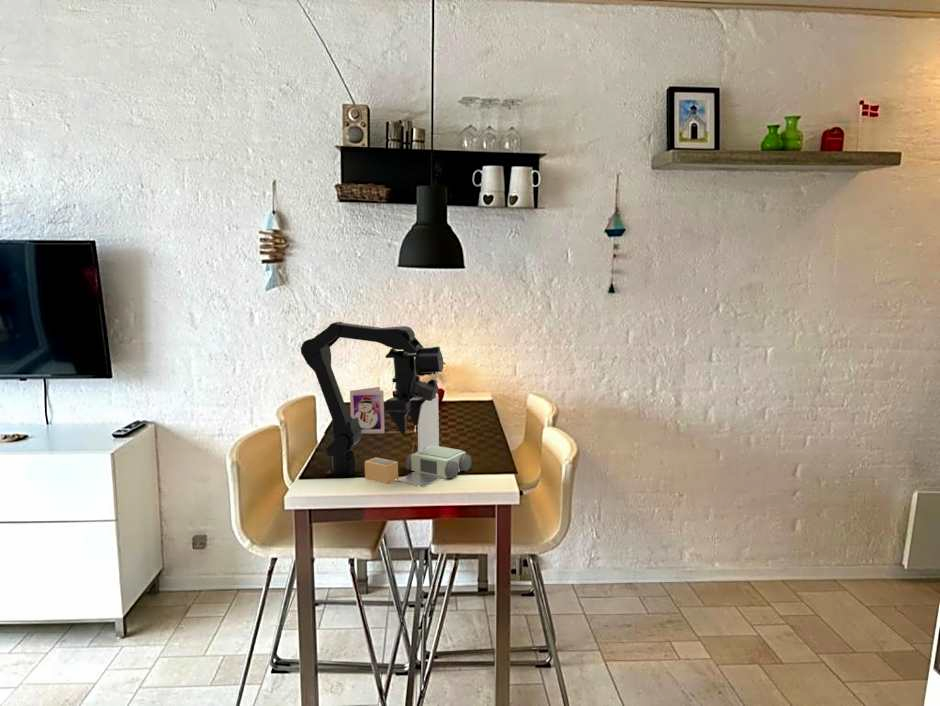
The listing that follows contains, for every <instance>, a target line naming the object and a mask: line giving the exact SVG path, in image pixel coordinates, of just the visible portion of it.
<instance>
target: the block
mask: <svg viewBox="0 0 940 706" xmlns="http://www.w3.org/2000/svg"><path fill="white" fill-rule="evenodd" d="M364 479H365V480H370V481H373V480H374V482H378V481H380V482H379V483H382V482H385V483H384V484H387V483H388V484H390V483H389V482H391V481H393V482H395V481H396V480H395V479H397V480H398V479H399V462H398V461H395V460H390V459H386V458H380V457H377V456H375V457H373V458H370V459H367V460H365V461H364ZM394 480H395V481H394ZM391 483H392V482H391Z"/></svg>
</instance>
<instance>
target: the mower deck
mask: <svg viewBox="0 0 940 706" xmlns="http://www.w3.org/2000/svg"><path fill="white" fill-rule="evenodd" d="M471 467H472V457H471V455H469V454H467V452H466V451H464V450H462V449H457V448H451V447H445V446H441V445H439V446H435V445H434V446H430V447H428V448H423V449H422V450H421V451H418V450H417V451H416V452H414V453H409V454H408V455H407V456H406V459H405V468H406V469H407V470H408V471H417V472H422V473H427V474H432V475H437V476H442V478H441V479H445V478H446V479H455V478H456V477H457V476H458V472H459V473H460V471H461V472H468V471H469V470H470V468H471Z"/></svg>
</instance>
